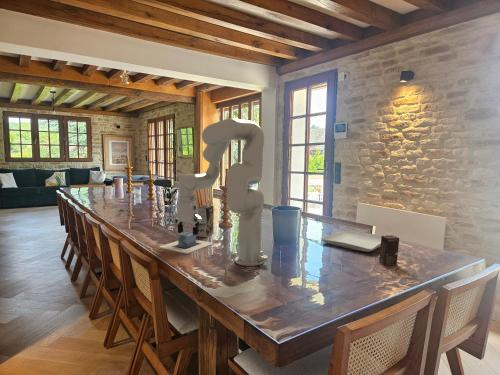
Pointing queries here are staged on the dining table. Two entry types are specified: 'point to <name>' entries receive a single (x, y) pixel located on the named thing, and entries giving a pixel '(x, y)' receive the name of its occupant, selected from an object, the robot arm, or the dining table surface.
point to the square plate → (354, 240)
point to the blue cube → (186, 240)
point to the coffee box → (206, 221)
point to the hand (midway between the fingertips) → (187, 233)
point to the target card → (186, 251)
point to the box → (389, 250)
